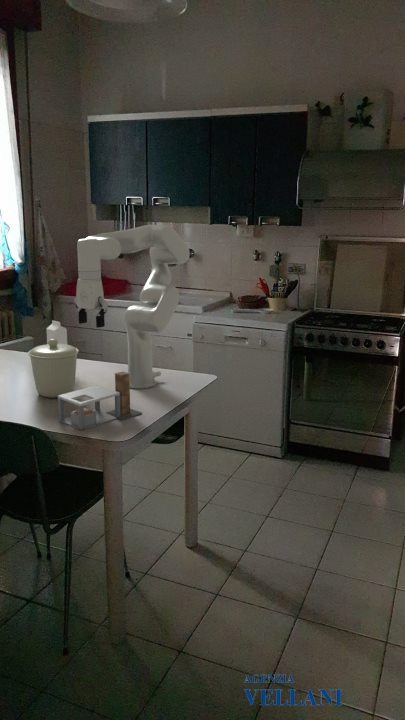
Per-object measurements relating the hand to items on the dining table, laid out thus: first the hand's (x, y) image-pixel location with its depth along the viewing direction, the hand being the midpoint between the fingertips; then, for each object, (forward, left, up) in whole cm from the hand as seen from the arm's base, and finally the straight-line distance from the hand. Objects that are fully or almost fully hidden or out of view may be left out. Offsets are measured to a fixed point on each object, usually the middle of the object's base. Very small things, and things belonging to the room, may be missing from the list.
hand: (91, 324), depth 203 cm
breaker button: (+16, +15, -27) cm, 35 cm away
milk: (-14, -42, -28) cm, 53 cm away
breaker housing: (+12, +13, -28) cm, 33 cm away
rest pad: (+1, +17, -28) cm, 33 cm away
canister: (+4, -18, -28) cm, 34 cm away
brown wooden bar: (+1, +17, -28) cm, 33 cm away
